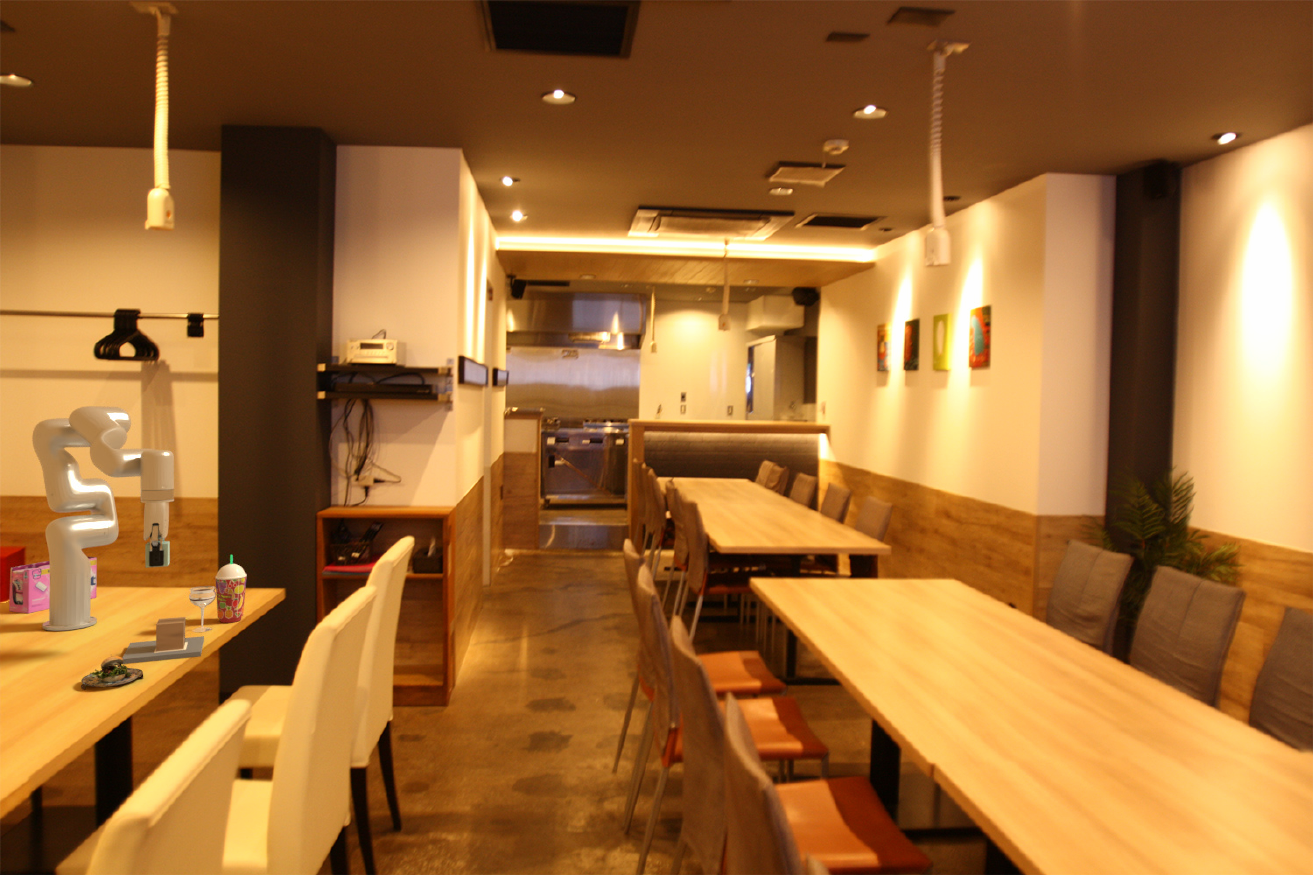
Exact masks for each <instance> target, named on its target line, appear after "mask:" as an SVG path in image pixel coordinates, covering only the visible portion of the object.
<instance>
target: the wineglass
mask: <svg viewBox="0 0 1313 875" xmlns="http://www.w3.org/2000/svg"><path fill="white" fill-rule="evenodd" d="M188 590H189V592H190V593H189V595H188V598H189V602H190V603H191V604H193V605H194V606H195V607H196V606H197V607H198V608H199V609H200V619H201V621H200V624H201V625H200V627H197V628H194V629H192V630H191V631H192V632H194V633H204V632H209V631H211V630H213V628H212V627H208V626H207V627H206V626H204V615H205V608H207V606H209V605H211V604H212V603H213V602H214V601H215V600H216V599H217V594H216V591H215V590H216V586H214V585H213V586H212V585H202V586H201V585H200V586H195V587H191V588H189V589H188Z"/></svg>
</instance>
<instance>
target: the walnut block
mask: <svg viewBox="0 0 1313 875" xmlns="http://www.w3.org/2000/svg"><path fill="white" fill-rule="evenodd" d="M155 634H156V635H155V639H156V640H155V641H156V652H158V651H169V650H179V649H183V648H184V645H185V638H186V616H180V617H178V616H177V617H165V618H158V620H157V622H156V633H155Z"/></svg>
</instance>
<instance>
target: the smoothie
mask: <svg viewBox="0 0 1313 875" xmlns="http://www.w3.org/2000/svg"><path fill="white" fill-rule="evenodd" d="M229 556H230V557H229V561H230V562H229V563H227V564H225V565H224V566H222V567H220V568H219V570H218V571H217V573H216V575H215V587H216V589H215V590H216V591H215V592H216V608H217V619H219V622H220V623H223V624H231V623H237V622H239V621H241V620H242V618H243V616H244V611H245V599H246V588H247V587H246V585H247V577H248V576H247V573H246V572H245V568H243V567H242V566H240V564H239V565H238V564H237V563H234V562H233V561H234V558H233V557H234V556H233V554H230V555H229Z"/></svg>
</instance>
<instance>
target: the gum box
mask: <svg viewBox="0 0 1313 875" xmlns="http://www.w3.org/2000/svg"><path fill="white" fill-rule="evenodd" d="M87 557H88V559H89V560H90V564H91V599H96V598H97V578H98V577H97V575H98V574H97V571H98V570H97V568H98V566H97V565H98V564H97V561H98V559H97V558H98V557H96V556H87ZM9 577H10V578H9V596H8V597H9V598H8V599H9V600H8V602H9V604H8V605H9V606H8V608H9V610H8V611H9V612H15V613H23V614H31V613H36V612H40V611H41V612H42V611H45V610H49V598H50V560H47V561H41V562H36V563H30V564H25V565H19V566H15V567H14V566H13V567H10V576H9Z"/></svg>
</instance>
